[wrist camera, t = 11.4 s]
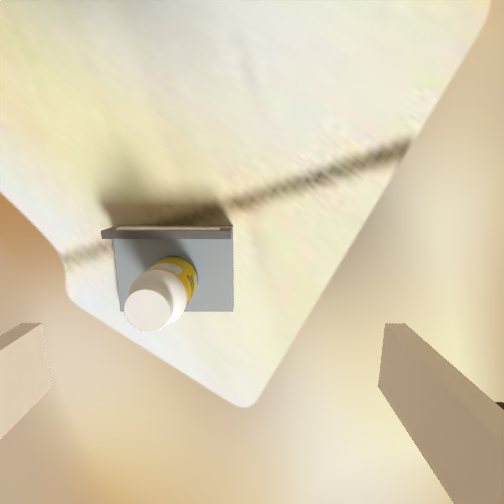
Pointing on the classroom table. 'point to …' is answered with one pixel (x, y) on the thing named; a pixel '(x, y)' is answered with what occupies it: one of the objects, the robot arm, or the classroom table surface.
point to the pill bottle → (161, 294)
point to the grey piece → (183, 245)
